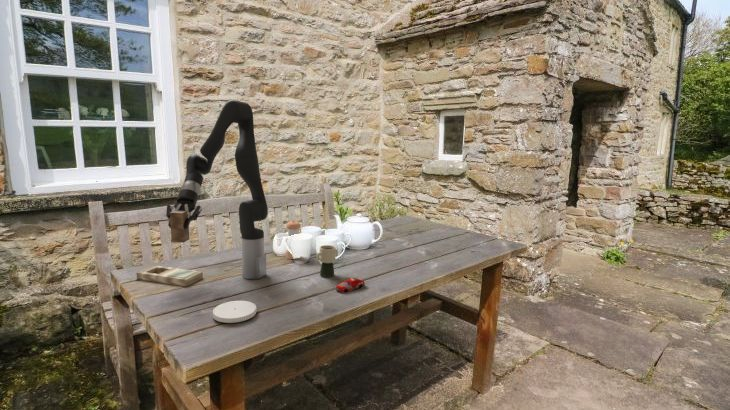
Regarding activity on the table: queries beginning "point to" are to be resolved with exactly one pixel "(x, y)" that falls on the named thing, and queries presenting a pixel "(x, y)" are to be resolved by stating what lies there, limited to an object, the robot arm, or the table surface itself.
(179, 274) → the puzzle board
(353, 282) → the race car
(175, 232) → the walnut block
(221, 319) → the plastic lid
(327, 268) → the character mug
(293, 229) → the pepper shaker
